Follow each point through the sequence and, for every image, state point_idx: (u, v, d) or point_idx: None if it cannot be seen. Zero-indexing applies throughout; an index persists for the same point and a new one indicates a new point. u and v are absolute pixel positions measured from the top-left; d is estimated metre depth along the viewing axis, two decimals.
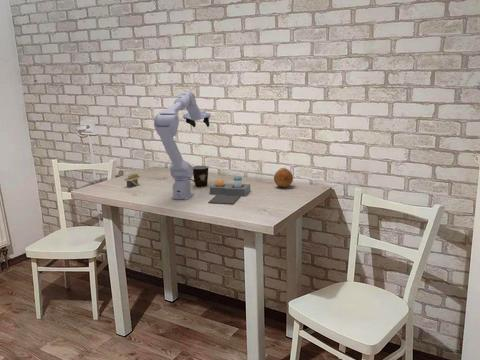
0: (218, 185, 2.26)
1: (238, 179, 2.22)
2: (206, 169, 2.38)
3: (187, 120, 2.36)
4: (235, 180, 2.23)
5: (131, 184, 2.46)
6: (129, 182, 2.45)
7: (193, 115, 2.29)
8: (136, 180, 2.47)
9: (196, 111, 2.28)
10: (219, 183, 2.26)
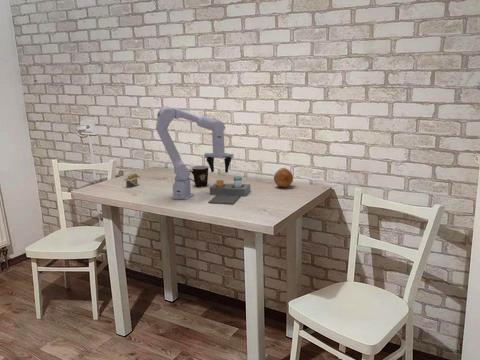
0: (218, 185, 2.26)
1: (238, 179, 2.22)
2: (206, 169, 2.38)
3: (208, 158, 2.24)
4: (235, 180, 2.23)
5: (131, 184, 2.46)
6: (129, 182, 2.44)
7: (217, 148, 2.20)
8: (136, 180, 2.46)
9: (216, 144, 2.20)
10: (219, 183, 2.26)
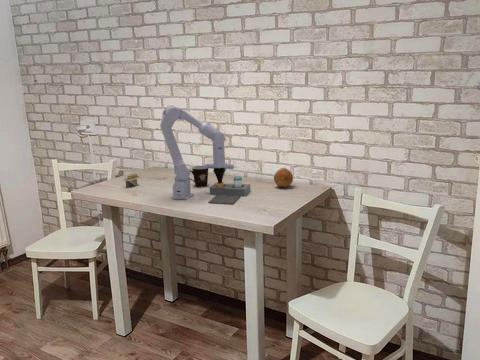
0: None
1: (238, 179, 2.22)
2: (206, 169, 2.38)
3: (215, 169, 2.25)
4: (235, 180, 2.23)
5: (130, 184, 2.46)
6: (128, 182, 2.44)
7: (217, 159, 2.22)
8: (135, 180, 2.46)
9: (217, 156, 2.21)
10: (219, 185, 2.26)
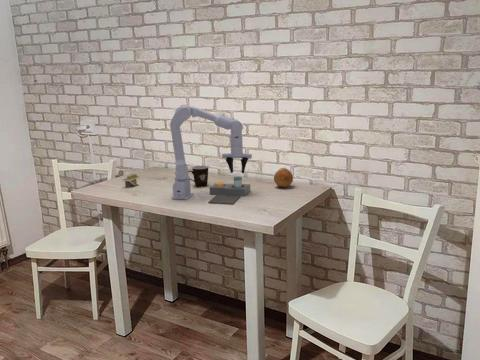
0: None
1: (238, 179, 2.22)
2: (206, 169, 2.38)
3: (227, 159, 2.21)
4: (235, 180, 2.23)
5: (130, 184, 2.45)
6: (128, 182, 2.44)
7: (235, 148, 2.18)
8: (135, 180, 2.46)
9: (233, 145, 2.18)
10: (219, 186, 2.26)
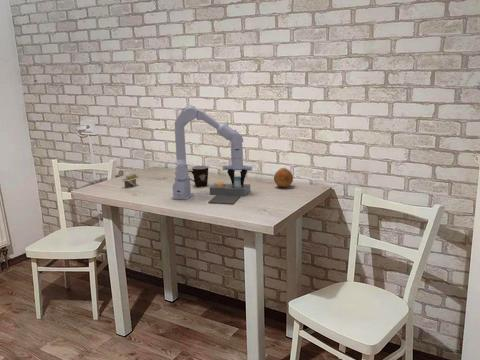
0: None
1: (238, 179, 2.22)
2: (206, 169, 2.38)
3: (229, 171, 2.23)
4: (235, 180, 2.23)
5: (129, 184, 2.45)
6: (127, 182, 2.44)
7: (236, 160, 2.19)
8: (134, 180, 2.46)
9: (234, 157, 2.19)
10: (219, 186, 2.26)
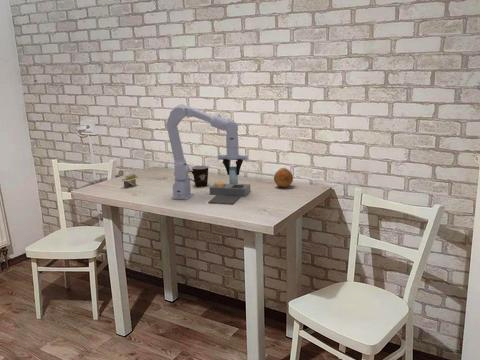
0: None
1: (233, 169, 2.18)
2: (206, 169, 2.38)
3: (224, 161, 2.18)
4: (230, 170, 2.18)
5: (129, 185, 2.45)
6: (126, 183, 2.44)
7: (231, 150, 2.14)
8: (134, 181, 2.45)
9: (228, 146, 2.14)
10: (219, 186, 2.26)
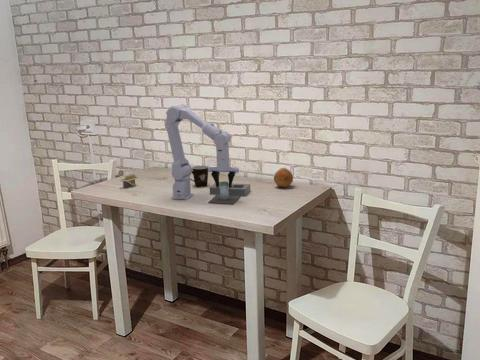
0: None
1: (224, 184, 2.11)
2: (206, 169, 2.38)
3: (213, 173, 2.11)
4: (221, 185, 2.11)
5: (128, 185, 2.45)
6: (126, 183, 2.43)
7: (221, 162, 2.07)
8: (133, 181, 2.45)
9: (217, 158, 2.08)
10: (219, 186, 2.26)
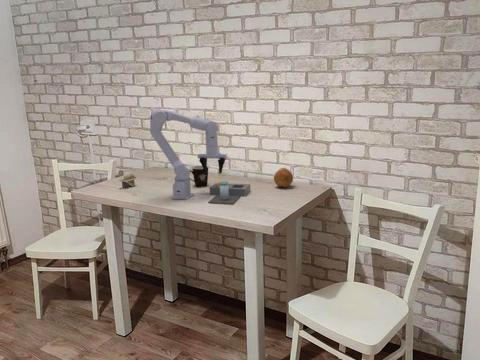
0: None
1: (224, 184, 2.11)
2: None
3: (201, 159, 2.23)
4: (221, 185, 2.11)
5: (127, 185, 2.44)
6: (125, 183, 2.43)
7: (210, 148, 2.19)
8: (132, 181, 2.45)
9: (209, 145, 2.19)
10: (219, 186, 2.26)
